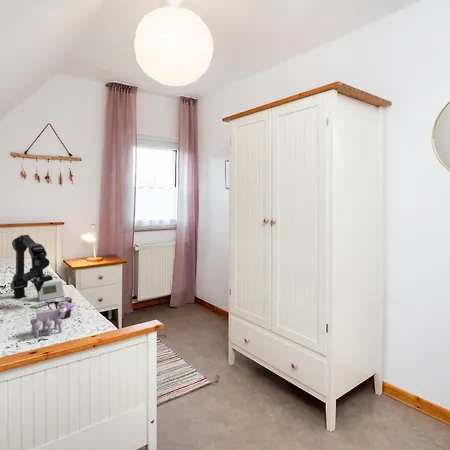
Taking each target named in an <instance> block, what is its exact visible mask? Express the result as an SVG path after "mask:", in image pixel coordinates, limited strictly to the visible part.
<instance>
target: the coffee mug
mask: <svg viewBox="0 0 450 450" xmlns="http://www.w3.org/2000/svg"><path fill="white" fill-rule="evenodd" d="M53 300H54V299H53ZM54 301H55V302H50V303H53V304H54V306H55V309H57V304H58V303H59V302H68V303H71V304H73V302H72V301H73V298H72V297H71V296H64V297H59V298H56V299H55V300H54ZM50 303H47V304H48V305H47V306H48V308H49V310H51V309H52V307H51V306H50V305H51V304H50ZM58 314H59V313H58ZM58 314H57V315H58ZM71 314H72V308H71V309H70V310H68V311H67V312H66V313H65V316H64V318H60V319H62V320H65V319H69V318H71Z"/></svg>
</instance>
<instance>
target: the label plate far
mask: <svg viewBox="0 0 450 450" xmlns="http://www.w3.org/2000/svg"><path fill="white" fill-rule="evenodd" d="M54 300H55V299H51V300H46V301H44V304H48V303H50V302H55V301H54ZM52 304H54V303H50V304H49V305H52Z"/></svg>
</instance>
